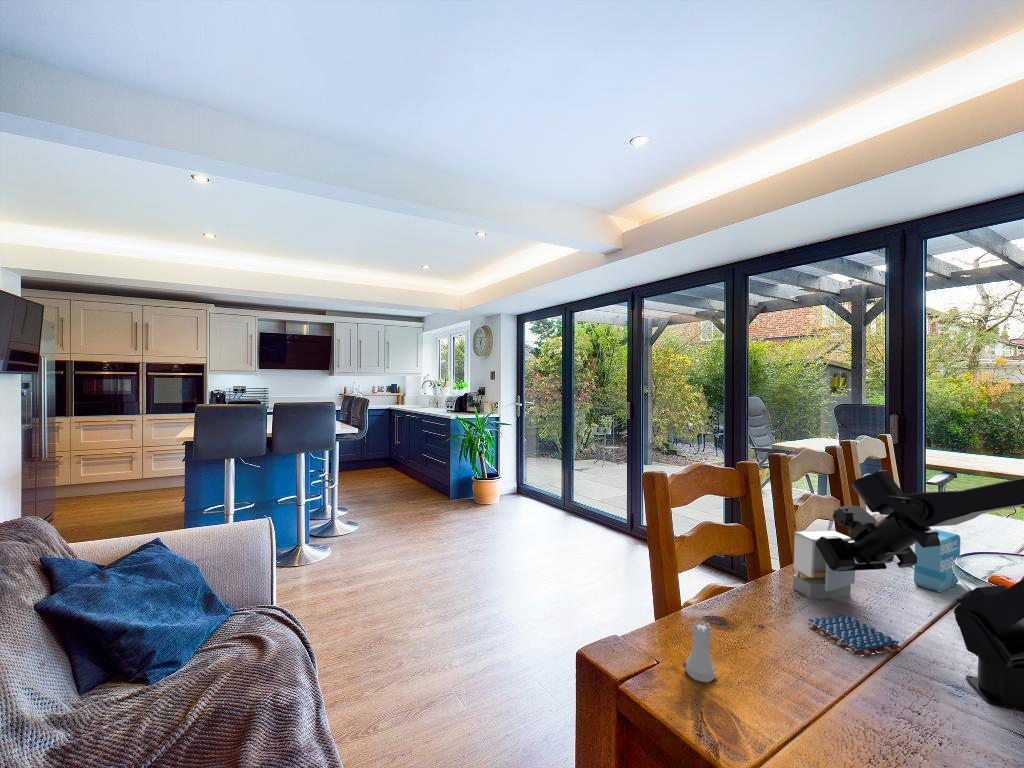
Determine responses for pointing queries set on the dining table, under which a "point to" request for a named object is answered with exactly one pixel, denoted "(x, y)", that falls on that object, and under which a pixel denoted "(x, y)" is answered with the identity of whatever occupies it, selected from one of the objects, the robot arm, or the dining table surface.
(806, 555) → the box
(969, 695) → the dining table surface
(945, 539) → the blue carton
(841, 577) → the box door
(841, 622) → the woven mat
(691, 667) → the rook chess piece
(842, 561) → the robot arm
